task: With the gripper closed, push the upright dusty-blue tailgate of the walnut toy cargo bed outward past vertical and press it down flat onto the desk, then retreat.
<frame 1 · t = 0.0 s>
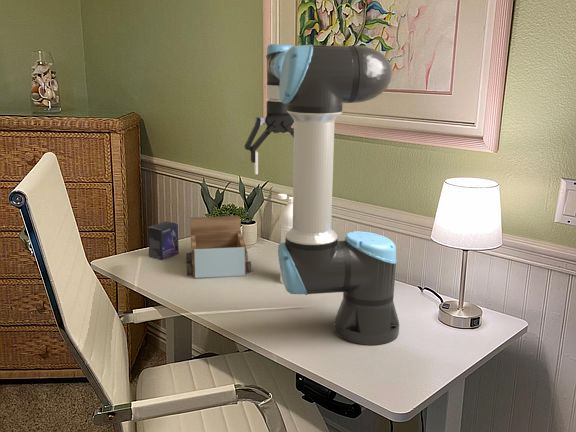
hand: (279, 172, 183), 28 cm above the table, fingers open, 13 cm apart
cargo bed: (218, 268, 185), on the table
tailgate: (219, 263, 175), point 5 cm above the table, hinge at -1.5°
box: (164, 258, 193), on the table
water bottle: (289, 283, 174), on the table
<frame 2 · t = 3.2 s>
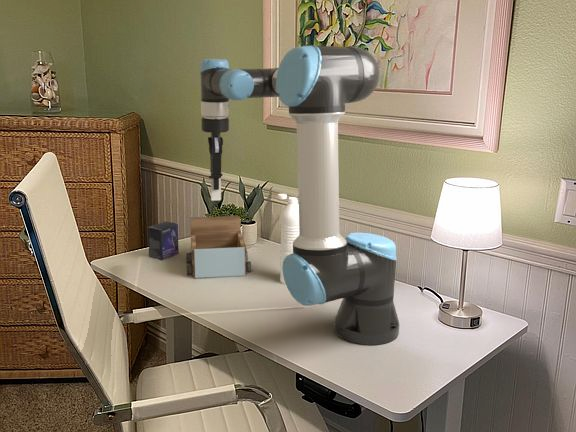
hand: (216, 199, 177), 22 cm above the table, fingers closed
nothing on the table moved.
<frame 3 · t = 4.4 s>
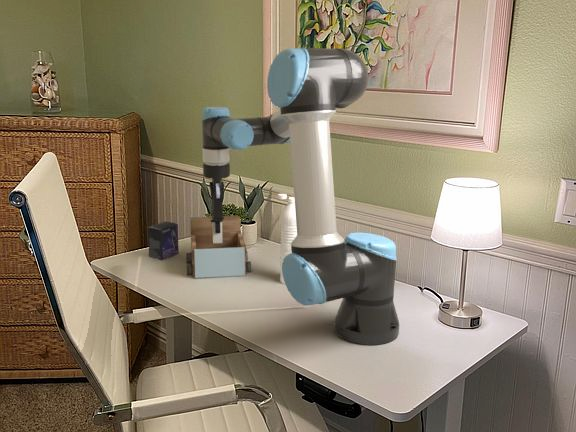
hand: (217, 242, 181), 9 cm above the table, fingers closed
nothing on the table moved.
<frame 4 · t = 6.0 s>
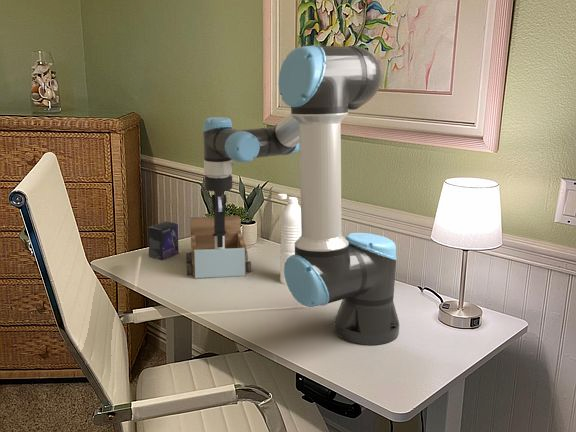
hand: (219, 256, 175), 7 cm above the table, fingers closed
tailgate: (219, 264, 174), point 5 cm above the table, hinge at 3.5°, touching gripper
everything else where it was.
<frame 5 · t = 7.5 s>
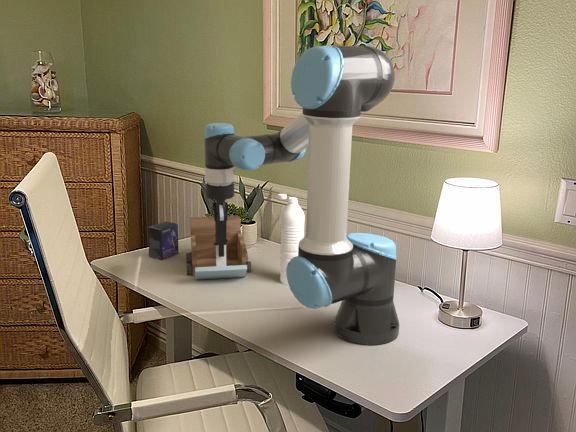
hand: (221, 265, 170), 6 cm above the table, fingers closed
tailgate: (220, 272, 172), point 3 cm above the table, hinge at 52.8°, touching gripper
everything else where it was.
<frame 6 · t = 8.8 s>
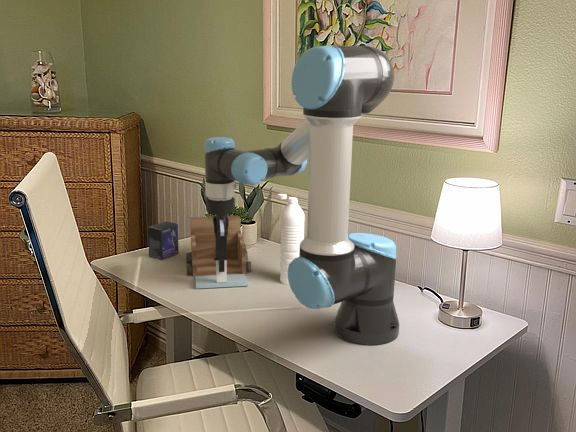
hand: (221, 281, 168), 3 cm above the table, fingers closed
tailgate: (221, 280, 172), point 1 cm above the table, hinge at 84.3°, touching gripper
everything else where it was.
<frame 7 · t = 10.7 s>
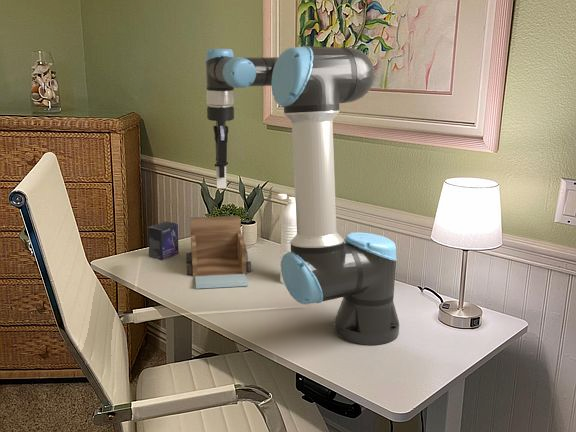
hand: (221, 187, 180), 24 cm above the table, fingers closed
tailgate: (221, 280, 172), point 1 cm above the table, hinge at 84.4°
everything else where it was.
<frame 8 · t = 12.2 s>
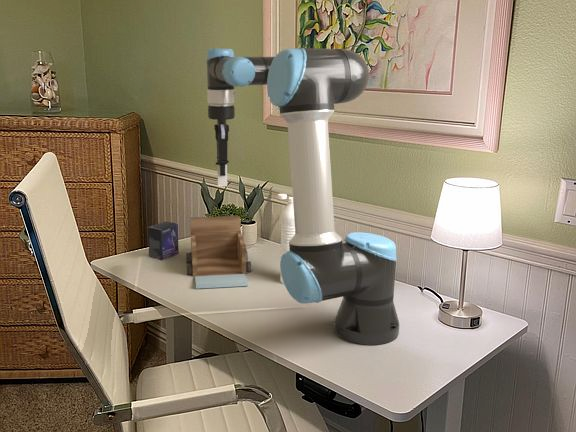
hand: (222, 185, 182), 24 cm above the table, fingers closed
nothing on the table moved.
at the end: tailgate at +84° (first picture: -2°); the gripper is holding nothing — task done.
